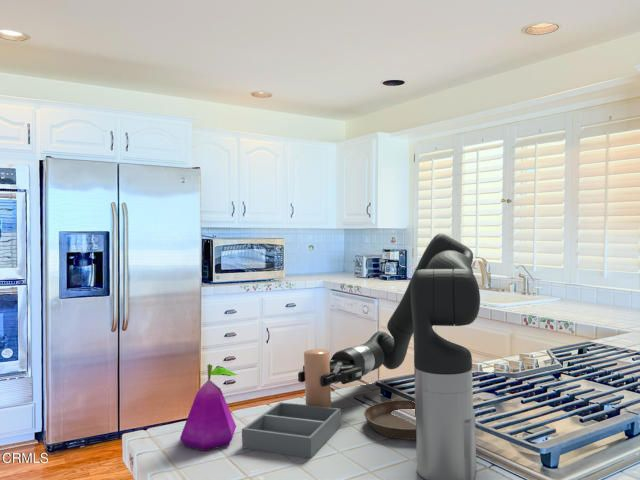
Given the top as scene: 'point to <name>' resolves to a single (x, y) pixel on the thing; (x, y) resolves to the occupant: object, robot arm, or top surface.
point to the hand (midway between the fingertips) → (310, 379)
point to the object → (391, 419)
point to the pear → (209, 417)
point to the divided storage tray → (292, 429)
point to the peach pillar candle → (317, 377)
